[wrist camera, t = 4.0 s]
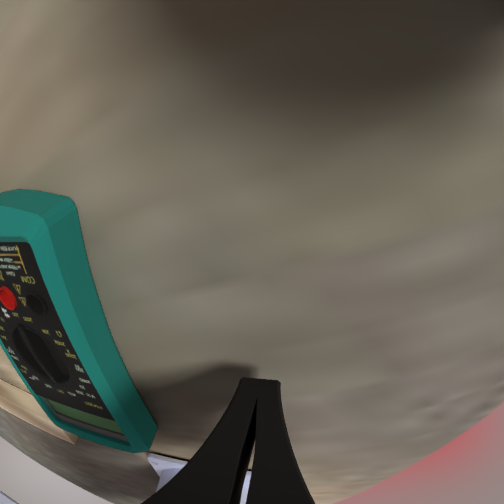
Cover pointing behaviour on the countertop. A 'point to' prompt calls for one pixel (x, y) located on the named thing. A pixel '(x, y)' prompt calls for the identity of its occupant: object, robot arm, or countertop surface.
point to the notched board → (30, 411)
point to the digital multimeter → (63, 325)
